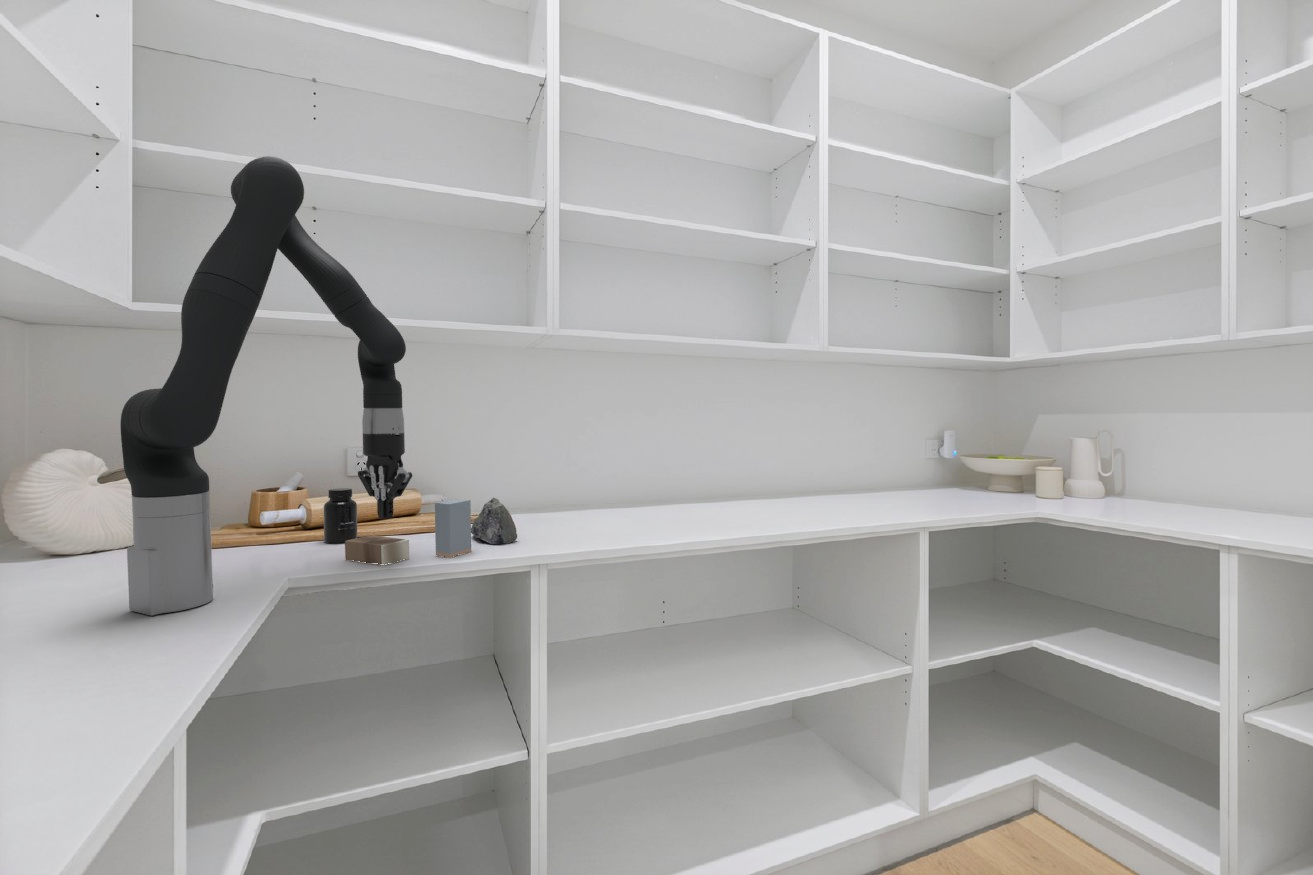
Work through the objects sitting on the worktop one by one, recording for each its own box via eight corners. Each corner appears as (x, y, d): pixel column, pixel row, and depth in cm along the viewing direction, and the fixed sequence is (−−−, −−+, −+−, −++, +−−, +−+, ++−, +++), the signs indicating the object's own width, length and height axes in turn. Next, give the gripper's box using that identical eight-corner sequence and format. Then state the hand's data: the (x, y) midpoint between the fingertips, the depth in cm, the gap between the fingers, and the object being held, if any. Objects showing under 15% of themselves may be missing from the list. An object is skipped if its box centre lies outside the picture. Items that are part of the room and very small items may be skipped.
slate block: (450, 558, 121) (449, 504, 120) (435, 556, 122) (434, 502, 122) (471, 551, 126) (470, 500, 126) (456, 549, 128) (455, 499, 127)
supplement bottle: (347, 544, 134) (346, 491, 133) (317, 544, 134) (316, 491, 133) (363, 537, 141) (362, 487, 140) (334, 537, 141) (333, 487, 140)
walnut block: (384, 545, 114) (344, 540, 119) (384, 566, 115) (345, 560, 119) (409, 539, 120) (370, 535, 124) (409, 559, 120) (370, 554, 125)
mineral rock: (471, 535, 143) (471, 494, 143) (517, 533, 146) (516, 492, 145) (467, 547, 131) (466, 501, 130) (517, 544, 133) (516, 500, 133)
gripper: (343, 431, 117) (345, 519, 118) (392, 432, 111) (394, 524, 112) (376, 430, 124) (377, 513, 124) (423, 431, 118) (425, 517, 119)
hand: (385, 518), depth 118 cm, fingers closed
